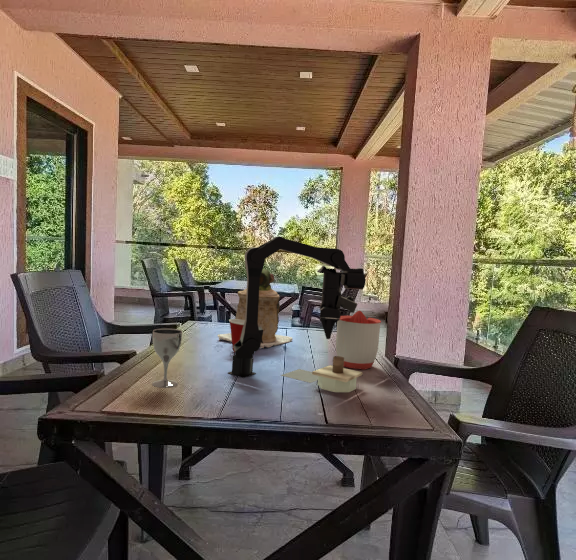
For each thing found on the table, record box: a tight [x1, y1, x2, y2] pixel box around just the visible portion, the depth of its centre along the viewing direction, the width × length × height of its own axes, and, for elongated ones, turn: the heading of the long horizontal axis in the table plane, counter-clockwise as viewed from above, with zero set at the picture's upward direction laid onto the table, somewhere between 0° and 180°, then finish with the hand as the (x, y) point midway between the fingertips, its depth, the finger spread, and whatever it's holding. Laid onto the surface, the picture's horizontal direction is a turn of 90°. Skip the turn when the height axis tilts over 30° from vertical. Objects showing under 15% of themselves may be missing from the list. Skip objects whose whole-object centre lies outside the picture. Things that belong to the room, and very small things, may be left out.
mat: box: [280, 368, 318, 384], centre depth 147 cm, size 11×11×1 cm
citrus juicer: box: [335, 310, 382, 371], centre depth 166 cm, size 16×17×20 cm
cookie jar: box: [217, 267, 294, 349], centre depth 197 cm, size 25×25×32 cm
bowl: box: [317, 376, 357, 393], centre depth 137 cm, size 10×10×4 cm
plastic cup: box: [228, 318, 245, 354], centre depth 175 cm, size 11×11×12 cm
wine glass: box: [151, 328, 183, 389], centre depth 130 cm, size 8×8×15 cm
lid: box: [311, 355, 363, 382], centre depth 137 cm, size 11×11×5 cm
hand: (327, 336), depth 149 cm, fingers open, 9 cm apart
